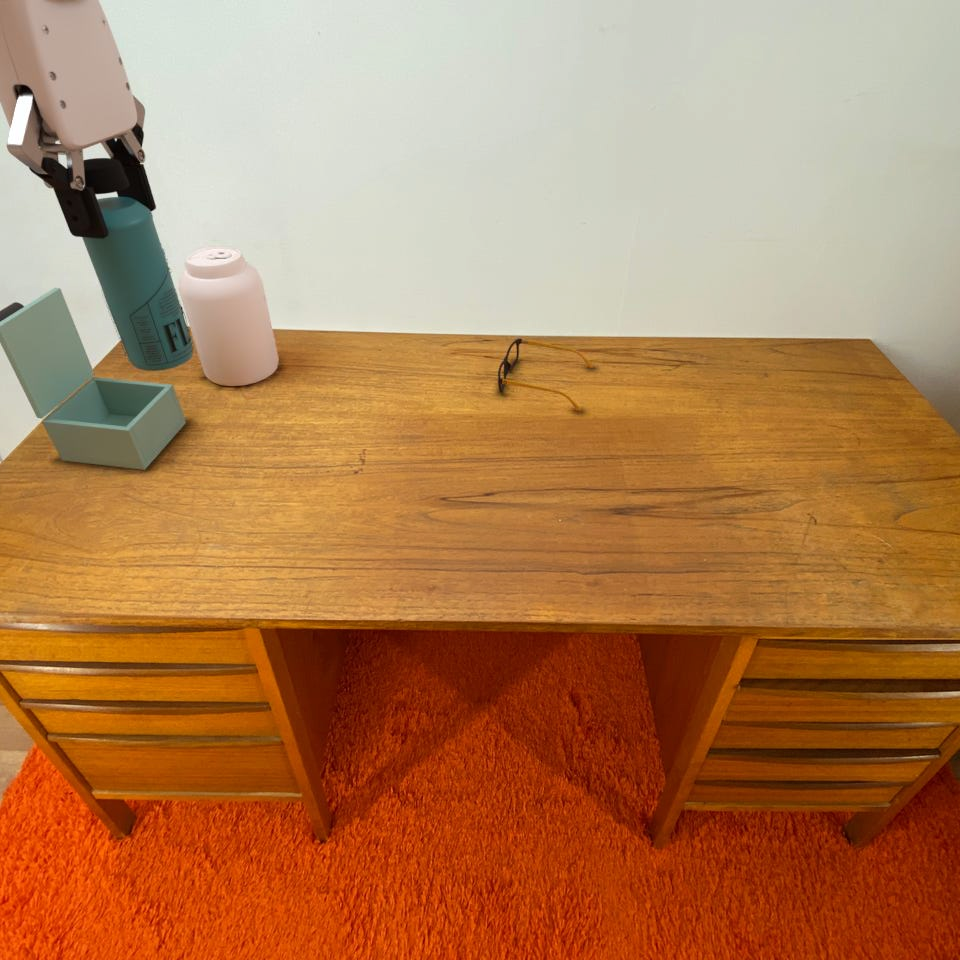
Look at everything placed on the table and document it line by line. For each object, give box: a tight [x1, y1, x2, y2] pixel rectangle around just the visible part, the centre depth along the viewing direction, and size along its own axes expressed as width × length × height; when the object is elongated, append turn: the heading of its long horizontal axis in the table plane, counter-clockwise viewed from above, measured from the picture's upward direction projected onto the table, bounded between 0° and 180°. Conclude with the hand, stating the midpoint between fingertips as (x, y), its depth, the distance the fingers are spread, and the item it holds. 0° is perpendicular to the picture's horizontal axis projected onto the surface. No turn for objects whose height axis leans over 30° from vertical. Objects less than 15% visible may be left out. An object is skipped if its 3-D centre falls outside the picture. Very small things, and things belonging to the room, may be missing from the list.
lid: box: [0, 287, 95, 419], centre depth 86 cm, size 13×12×6 cm
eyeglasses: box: [497, 338, 594, 412], centre depth 107 cm, size 14×14×4 cm
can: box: [178, 245, 280, 387], centre depth 104 cm, size 12×12×20 cm
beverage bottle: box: [81, 157, 195, 372], centre depth 60 cm, size 6×7×20 cm
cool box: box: [41, 376, 187, 471], centre depth 92 cm, size 13×12×7 cm
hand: (115, 220), depth 57 cm, fingers closed on beverage bottle, 6 cm apart
